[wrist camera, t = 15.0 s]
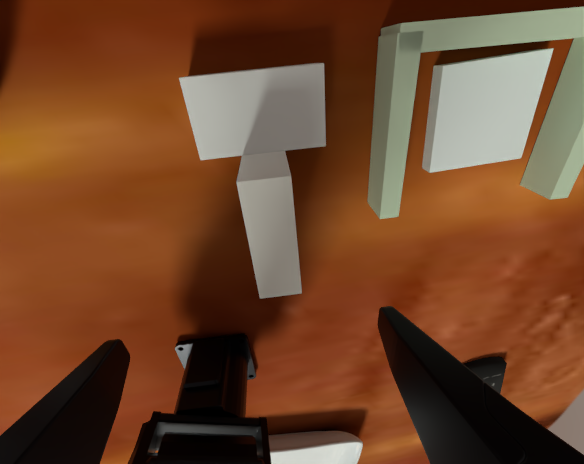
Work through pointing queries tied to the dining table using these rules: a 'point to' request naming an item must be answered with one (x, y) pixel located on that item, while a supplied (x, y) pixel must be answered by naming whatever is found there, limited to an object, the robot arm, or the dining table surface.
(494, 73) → the tile
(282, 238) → the scraper
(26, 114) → the dining table surface
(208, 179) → the dining table surface
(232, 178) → the dining table surface
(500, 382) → the remote control
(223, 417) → the robot arm
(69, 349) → the dining table surface
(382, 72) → the green c-shaped block
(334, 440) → the salad plate
